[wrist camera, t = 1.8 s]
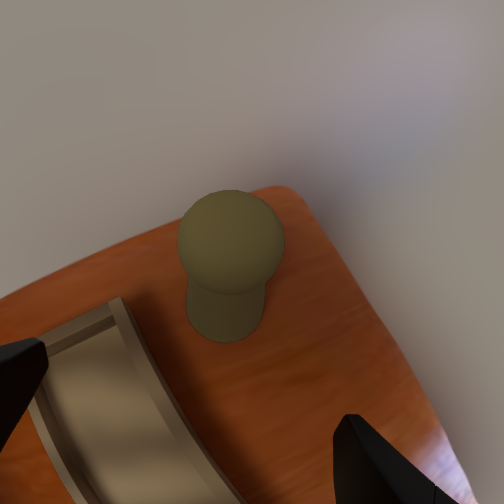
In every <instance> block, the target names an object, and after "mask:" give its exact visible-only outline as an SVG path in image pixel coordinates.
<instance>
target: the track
mask: <svg viewBox="0 0 504 504" xmlns="http://www.w3.org/2000/svg"><path fill="white" fill-rule="evenodd" d="M37 339H39V340H41V341H43V342H44V343H45V346H46V351H47V355H48V360H49V367H48V370H47V372H46V374H45V376H44V377H43V379H42V381H41V383H40V385H39V387H38V389H37V391H36V393H35V395H34V397H33V399H32V401H31V402H30V404H29V406H28V409H29V412H30V415H31V417H32V420H33V422H34V425H35V427H36V430H37V432H38V434H39V437H40V439H41V441H42V443H43V445H44V447H45V450H46V452H47V454H48V456H49V458H50V460H51V462H52V464H53V466H54V467H55V469H56V471H57V473H58V475H59V477H60V478H61V480H62V482H63V484H64V485H65V487H66V489H67V490H68V492H69V494H70V495H71V497H72V498H73V500H74V501H75V503H76V504H248V503H247V502H246V501H245V500H244V498H243V497H242V496H241V495H240V493H239V492H238V491H237V490H236V488H235V487H234V486H233V485H232V483H231V482H230V481H229V479H228V478H227V477H226V475H225V474H224V473H223V471H222V470H221V468H220V467H219V466H218V464H217V463H216V461H215V460H214V459H213V457H212V456H211V454H210V453H209V451H208V450H207V448H206V447H205V445H204V444H203V442H202V441H201V439H200V438H199V436H198V435H197V433H196V432H195V430H194V429H193V427H192V425H191V424H190V422H189V421H188V419H187V417H186V416H185V414H184V412H183V411H182V409H181V407H180V406H179V404H178V402H177V401H176V399H175V397H174V395H173V393H172V392H171V390H170V388H169V386H168V385H167V383H166V381H165V379H164V377H163V375H162V373H161V372H160V370H159V368H158V366H157V364H156V362H155V360H154V358H153V356H152V354H151V352H150V350H149V348H148V346H147V344H146V342H145V340H144V337H143V335H142V333H141V331H140V329H139V327H138V324H137V322H136V320H135V318H134V315H133V313H132V311H131V309H130V308H129V307H128V306H127V304H126V303H125V302H124V301H123V299H122V298H121V297H120V296H119V297H117V298H115V299H113V300H111V301H109V302H107V303H105V304H103V305H101V306H99V307H97V308H95V309H93V310H91V311H89V312H87V313H85V314H83V315H81V316H79V317H77V318H75V319H73V320H71V321H69V322H67V323H65V324H63V325H61V326H59V327H57V328H55V329H53V330H51V331H49V332H47V333H45V334H43V335H41V336H39V337H37Z"/></svg>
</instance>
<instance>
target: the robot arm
mask: <svg viewBox="0 0 504 504" xmlns="http://www.w3.org/2000/svg"><path fill="white" fill-rule="evenodd" d="M48 367H49V360H48V355H47V351H46V346H45V343H44V342H43V341H41V340H39V339H37V338H34V337H32V338H28V339H24V340H20V341H17V342H13V343H9V344H5V345H1V346H0V452H1V451H2V449H3V447H4V445H5V444H6V442H7V440H8V438H9V437H10V435H11V433H12V432H13V430H14V428H15V427H16V425H17V423H18V422H19V420H20V419H21V417H22V415H23V414H24V412H25V411H26V409H27V408H28V406H29V404H30V402H31V401H32V399H33V397H34V395H35V393H36V391H37V389H38V387H39V385H40V383H41V381H42V379H43V377H44V376H45V374H46V372H47V370H48ZM333 477H334V489H335V497H336V504H459V503H457V502H456V501H455V500H453V499H452V498H451V497H450V496H448V495H447V494H446V493H445V492H443V491H442V490H441V489H440V488H439V487H438V486H435V484H434V483H433V482H432V481H431V480H429V479H428V478H427V477H426V476H425V475H424V474H423V473H422V472H420V471H419V470H418V469H417V468H416V467H415V466H414V465H413V464H412V463H410V462H409V461H408V460H407V459H406V458H405V457H404V456H403V455H402V454H401V453H399V452H398V451H397V450H396V449H395V448H394V447H393V446H392V445H391V444H390V443H389V442H388V441H386V440H385V439H384V438H383V437H382V436H381V435H380V434H379V433H378V432H377V431H376V430H375V429H374V428H373V427H372V426H371V425H370V424H369V423H367V422H366V421H365V420H364V419H363V418H362V417H361V416H360V415H358V414H346V415H345V416H344V417H343V418H342V420H341V421H340V423H339V425H338V427H337V428H336V430H335V432H334V435H333Z"/></svg>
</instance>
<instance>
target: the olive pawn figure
mask: <svg viewBox="0 0 504 504" xmlns="http://www.w3.org/2000/svg"><path fill="white" fill-rule="evenodd" d="M284 247H285V240H284V233H283V227H282V224H281V222H280V220H279V219H278V217H277V215H276V213H275V212H274V211H273V209H272V208H271V207H270V206H269V205H268V204H266V203H265V202H264V201H263V200H262V199H260V198H258V197H256V196H254V195H252V194H250V193H246V192H242V191H238V190H223V191H219V192H215V193H211V194H209V195H207V196H205V197H203V198H201V199H200V200H198V201H197V202H196V203H195V204H194V205H193V206H192V207H191V208H190V209H189V210H188V211H187V212H186V213H185V215H184V217H183V219H182V221H181V224H180V226H179V230H178V238H177V249H178V253H179V256H180V259H181V262H182V265H183V268H184V269H185V270H186V271H187V273H188V274H189V277H188V286H187V295H186V313H187V316H188V319H189V321H190V323H191V325H192V326H193V327H194V328H195V330H196V331H197V332H198V333H199V334H201V335H202V336H204V337H205V338H207V339H209V340H212V341H216V342H219V343H228V342H235V341H238V340H241V339H244V338H246V337H247V336H248V335H249V334H251V333H252V332H253V331H255V329H256V328H257V326H258V324H259V323H260V321H261V318H262V314H263V310H264V298H265V285H266V281H268V280H269V279H270V278H271V277H272V276H273V274H274V273H275V271H276V269H277V268H278V266H279V265H280V262H281V260H282V256H283V252H284Z"/></svg>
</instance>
